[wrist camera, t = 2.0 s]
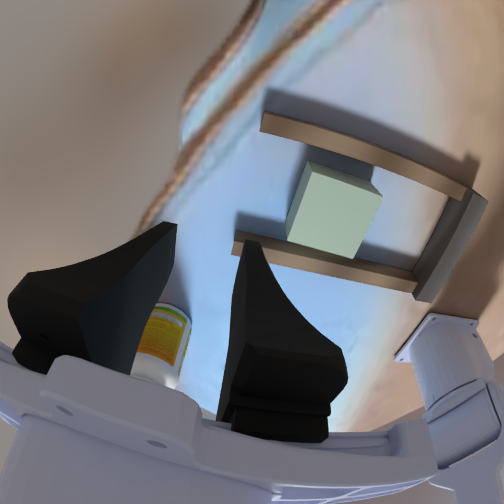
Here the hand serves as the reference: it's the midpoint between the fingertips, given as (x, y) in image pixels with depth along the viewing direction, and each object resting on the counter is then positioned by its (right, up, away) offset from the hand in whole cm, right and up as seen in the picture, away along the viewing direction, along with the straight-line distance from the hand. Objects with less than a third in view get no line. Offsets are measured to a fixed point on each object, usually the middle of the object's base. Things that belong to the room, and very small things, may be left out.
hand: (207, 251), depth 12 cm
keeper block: (+7, +4, +9) cm, 12 cm away
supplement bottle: (-7, -7, +16) cm, 19 cm away
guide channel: (+10, +3, +9) cm, 14 cm away
